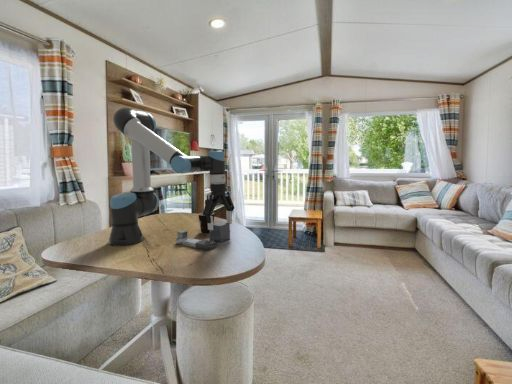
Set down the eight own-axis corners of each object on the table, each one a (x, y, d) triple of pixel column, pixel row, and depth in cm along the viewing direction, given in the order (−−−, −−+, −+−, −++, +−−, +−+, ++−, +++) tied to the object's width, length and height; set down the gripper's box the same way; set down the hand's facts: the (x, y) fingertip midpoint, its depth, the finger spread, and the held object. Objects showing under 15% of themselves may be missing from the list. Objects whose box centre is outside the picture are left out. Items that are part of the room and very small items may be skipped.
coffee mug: (213, 233, 152) (212, 215, 151) (197, 234, 152) (196, 215, 151) (217, 228, 164) (216, 211, 163) (202, 228, 164) (201, 211, 163)
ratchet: (173, 243, 137) (173, 232, 136) (183, 240, 142) (182, 229, 141) (206, 250, 124) (206, 238, 124) (216, 247, 129) (215, 235, 129)
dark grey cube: (209, 240, 140) (209, 224, 139) (219, 237, 146) (218, 221, 145) (220, 242, 136) (220, 226, 135) (230, 238, 142) (229, 223, 141)
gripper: (205, 185, 126) (207, 233, 128) (240, 181, 146) (241, 222, 148) (193, 185, 130) (196, 231, 132) (228, 181, 150) (230, 220, 153)
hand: (220, 226), depth 140 cm, fingers open, 13 cm apart
